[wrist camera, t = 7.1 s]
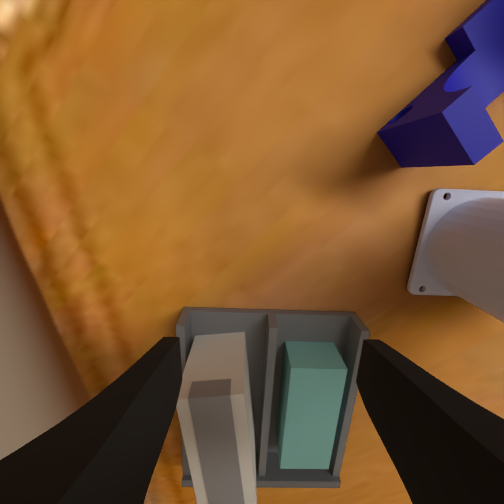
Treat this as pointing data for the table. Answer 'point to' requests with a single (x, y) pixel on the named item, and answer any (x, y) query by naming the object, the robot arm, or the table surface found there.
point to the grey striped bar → (219, 420)
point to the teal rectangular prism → (309, 404)
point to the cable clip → (455, 99)
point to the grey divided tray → (270, 373)
